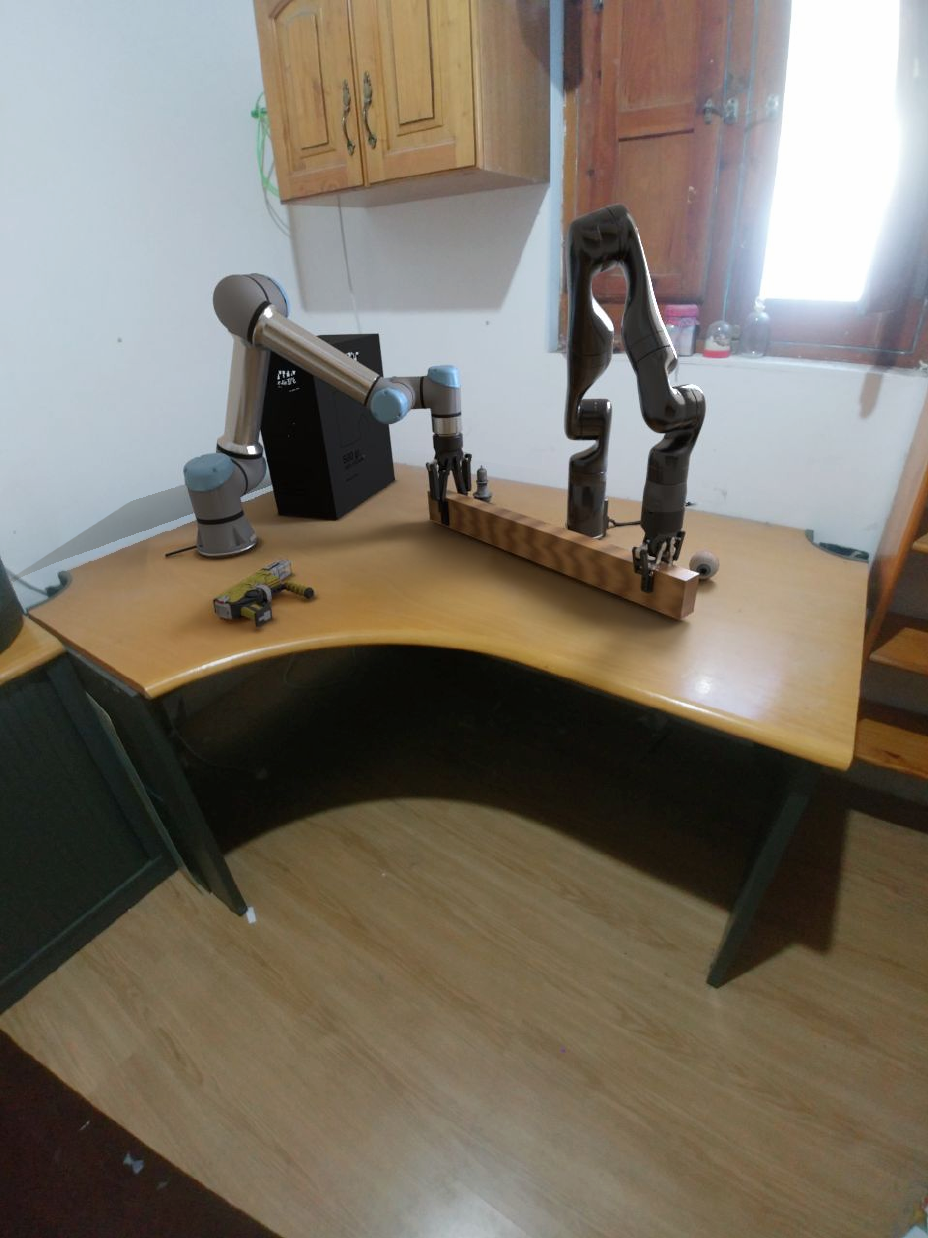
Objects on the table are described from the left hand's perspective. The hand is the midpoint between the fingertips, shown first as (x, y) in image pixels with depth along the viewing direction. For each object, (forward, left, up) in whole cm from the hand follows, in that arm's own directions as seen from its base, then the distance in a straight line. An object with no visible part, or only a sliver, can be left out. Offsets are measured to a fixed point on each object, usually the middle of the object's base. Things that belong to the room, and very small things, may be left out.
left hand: (453, 521), depth 162 cm
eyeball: (+56, -34, -2) cm, 65 cm away
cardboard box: (-38, +31, -2) cm, 49 cm away
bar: (+21, -23, -1) cm, 31 cm away
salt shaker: (+8, +17, -2) cm, 19 cm away
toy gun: (-36, -39, -2) cm, 53 cm away
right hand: (+42, -47, +3) cm, 63 cm away
